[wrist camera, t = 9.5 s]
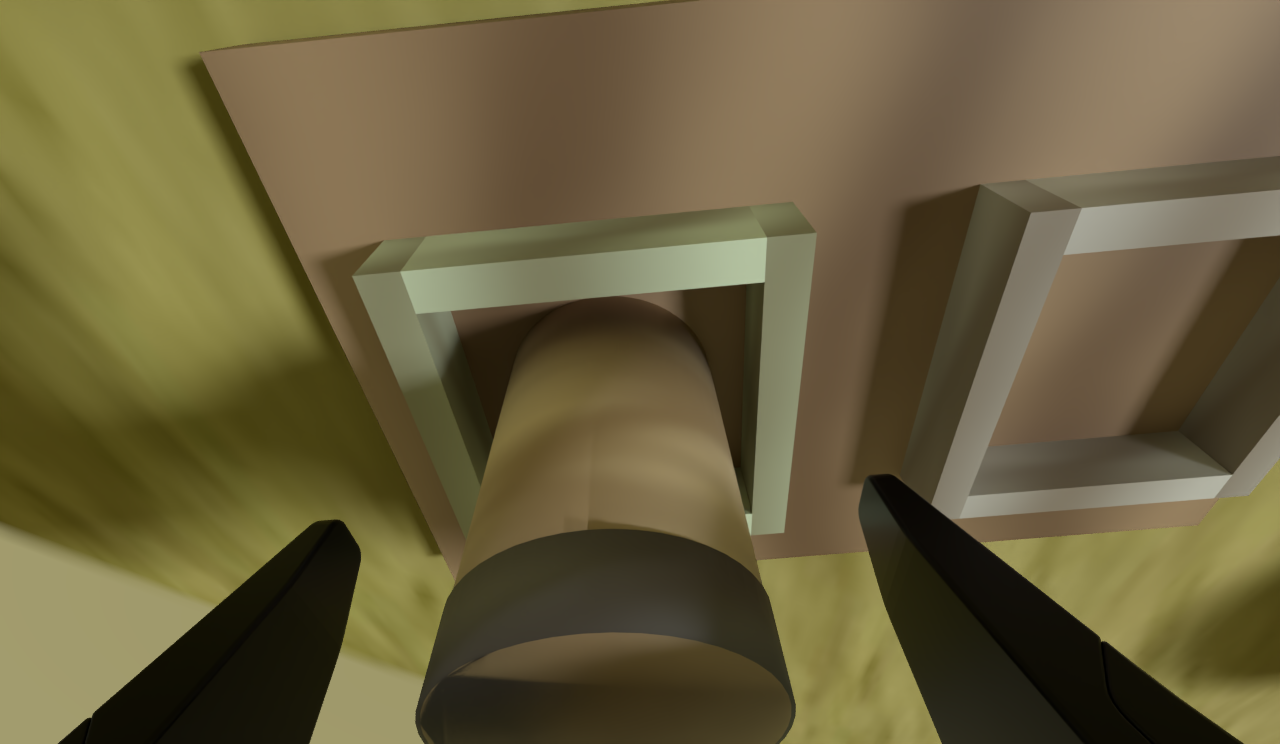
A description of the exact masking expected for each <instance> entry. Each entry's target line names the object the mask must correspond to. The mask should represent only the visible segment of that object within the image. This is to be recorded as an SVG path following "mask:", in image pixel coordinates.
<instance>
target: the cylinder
mask: <svg viewBox="0 0 1280 744" xmlns="http://www.w3.org/2000/svg"><path fill="white" fill-rule="evenodd" d="M795 712H796V704H795V700H794V696H793V692H792V688H791V684H790V680H789V676H788V672H787V668H786V664H785V660H784V656H783V652H782V648H781V644H780V639H779V635H778V631H777V627H776V623H775V619H774V615H773V611H772V607H771V604H770V600H769V597H768V595H767V593H766V591H765V589H764V587H763V585H762V582H761V578H760V573H759V569H758V565H757V561H756V557H755V553H754V549H753V544H752V540H751V536H750V532H749V528H748V524H747V520H746V515H745V511H744V507H743V503H742V499H741V495H740V491H739V486H738V482H737V478H736V474H735V470H734V466H733V462H732V457H731V453H730V449H729V445H728V441H727V437H726V433H725V428H724V424H723V420H722V416H721V412H720V408H719V404H718V400H717V395H716V391H715V387H714V383H713V379H712V375H711V371H710V366H709V362H708V359H707V355H706V352H705V350H704V348H703V345H702V343H701V342H700V340H699V339H698V337H697V336H696V334H695V333H694V332H693V331H692V330H691V328H690V327H689V326H688V325H687V324H686V323H685V322H683V321H682V320H681V319H680V318H679V317H677V316H676V315H674V314H673V313H671V312H670V311H668V310H666V309H664V308H662V307H660V306H658V305H656V304H653V303H650V302H647V301H644V300H640V299H635V298H630V297H622V296H608V297H597V298H586V299H582V300H578V301H575V302H572V303H569V304H567V305H564V306H562V307H560V308H558V309H556V310H554V311H553V312H551V313H549V314H548V315H546V316H545V317H544V318H543V319H541V320H540V321H539V322H538V323H537V324H536V325H535V326H534V327H533V328H532V329H531V330H530V331H529V332H528V334H527V335H526V336H525V338H524V339H523V341H522V343H521V345H520V347H519V349H518V351H517V354H516V357H515V361H514V364H513V368H512V372H511V376H510V379H509V383H508V387H507V391H506V394H505V398H504V402H503V405H502V409H501V413H500V417H499V420H498V424H497V428H496V432H495V435H494V439H493V443H492V446H491V450H490V454H489V458H488V461H487V465H486V469H485V473H484V476H483V480H482V484H481V487H480V491H479V495H478V499H477V502H476V506H475V510H474V514H473V517H472V521H471V525H470V529H469V532H468V536H467V540H466V543H465V547H464V551H463V555H462V558H461V562H460V566H459V570H458V573H457V577H456V581H455V584H454V588H453V590H452V592H451V594H450V595H449V597H448V599H447V601H446V604H445V607H444V611H443V614H442V618H441V621H440V625H439V629H438V632H437V636H436V639H435V643H434V647H433V650H432V654H431V658H430V661H429V665H428V669H427V672H426V676H425V680H424V683H423V687H422V690H421V694H420V698H419V701H418V705H417V709H416V721H415V722H416V727H417V730H418V733H419V735H420V737H421V739H422V740H423V742H424V744H779V743H780V742H781V741H782V740H783V739H784V738H785V737H786V735H787V734H788V732H789V730H790V729H791V727H792V725H793V722H794V719H795Z"/></svg>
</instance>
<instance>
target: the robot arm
mask: <svg viewBox="0 0 1280 744" xmlns="http://www.w3.org/2000/svg"><path fill="white" fill-rule="evenodd" d="M858 515H859V520H860V524H861V527H862V531H863V534H864V538H865V541H866V544H867V548H868V551H869V555H870V558H871V562H872V565H873V568H874V572H875V575H876V579H877V582H878V585H879V589H880V592H881V595H882V598H883V602H884V605H885V607H886V610H887V613H888V615H889V618H890V620H891V623H892V625H893V628H894V630H895V632H896V635H897V637H898V639H899V642H900V644H901V647H902V649H903V651H904V654H905V656H906V659H907V661H908V663H909V666H910V668H911V671H912V673H913V675H914V678H915V680H916V683H917V685H918V687H919V690H920V692H921V695H922V697H923V699H924V702H925V704H926V706H927V709H928V711H929V714H930V716H931V718H932V721H933V723H934V726H935V728H936V730H937V733H938V735H939V738H940V740H941V742H942V744H1244V743H1242V742H1241V741H1239V740H1238V739H1236V738H1235V737H1234V736H1232V735H1231V734H1229V733H1228V732H1226V731H1225V730H1224V729H1222V728H1221V727H1219V726H1218V725H1217V724H1215V723H1214V722H1212V721H1211V720H1210V719H1208V718H1207V717H1205V716H1204V715H1203V714H1201V713H1200V712H1198V711H1197V710H1196V709H1194V708H1193V707H1191V706H1190V705H1189V704H1187V703H1186V702H1184V701H1183V700H1182V699H1180V698H1179V697H1177V696H1176V695H1175V694H1173V693H1172V692H1171V691H1170V690H1168V689H1167V688H1166V687H1164V686H1163V685H1162V684H1160V683H1159V682H1158V681H1156V680H1155V679H1154V678H1152V677H1151V676H1150V675H1148V674H1147V673H1146V672H1144V671H1143V670H1142V669H1141V668H1139V667H1138V666H1137V665H1135V664H1134V663H1133V662H1131V661H1130V660H1129V659H1128V658H1126V657H1125V656H1124V655H1123V654H1121V653H1120V652H1119V651H1117V650H1116V649H1115V648H1114V647H1112V646H1111V645H1110V644H1109V643H1107V642H1105V641H1102V642H1101V639H1100V637H1099V636H1098V635H1097V634H1095V633H1094V632H1093V631H1092V630H1090V629H1089V628H1088V627H1087V626H1085V625H1084V624H1083V623H1081V622H1080V621H1079V620H1078V619H1076V618H1075V617H1074V616H1073V615H1071V614H1070V613H1069V612H1068V611H1066V610H1065V609H1064V608H1062V607H1061V606H1060V605H1059V604H1057V603H1056V602H1055V601H1054V600H1052V599H1051V598H1050V597H1048V596H1047V595H1046V594H1045V593H1043V592H1042V591H1041V590H1040V589H1038V588H1037V587H1036V586H1034V585H1033V584H1032V583H1031V582H1029V581H1028V580H1027V579H1026V578H1024V577H1023V576H1022V575H1020V574H1019V573H1018V572H1017V571H1015V570H1014V569H1013V568H1012V567H1010V566H1009V565H1008V564H1006V563H1005V562H1004V561H1003V560H1001V559H1000V558H999V557H998V556H996V555H995V554H994V553H992V552H991V551H990V550H989V549H987V548H986V547H985V546H984V545H982V544H981V543H980V542H978V541H977V540H976V539H975V538H973V537H972V536H971V535H970V534H968V533H967V532H966V531H964V530H963V529H962V528H961V527H959V526H958V525H957V524H956V523H954V522H953V521H952V520H950V519H949V518H948V517H947V516H945V515H944V514H943V513H942V512H940V511H939V510H938V509H936V508H935V507H934V506H933V505H931V504H930V503H929V502H928V501H926V500H925V499H924V498H923V497H921V496H920V495H919V494H917V493H916V492H915V491H914V490H912V489H911V488H910V487H909V486H907V485H906V484H905V483H903V482H902V481H901V480H900V479H898V478H897V477H896V476H894V475H892V474H876V475H869V476H867V477H866V478H865V480H864V484H863V488H862V493H861V497H860V502H859V507H858ZM360 562H361V552H360V548H359V546H358V544H357V543H356V541H355V539H354V538H353V536H352V535H351V533H350V531H349V530H348V528H347V527H346V525H345V524H344V522H342V521H341V520H337V519H336V520H324V521H317V522H315V523H313V524H311V525H310V526H309V527H308V528H307V529H305V530H304V531H303V532H302V533H301V534H300V535H298V536H297V537H296V538H295V539H294V540H293V541H292V542H290V543H289V544H288V545H287V546H286V547H285V548H283V549H282V550H281V551H280V552H279V553H278V554H277V555H275V556H274V557H273V558H272V559H271V560H270V561H268V562H267V563H266V564H265V565H264V566H263V567H262V568H260V569H259V570H258V571H257V572H256V573H255V574H253V575H252V576H251V577H250V578H249V579H248V580H246V581H245V582H244V583H243V584H242V585H241V586H240V587H238V588H237V589H236V590H235V591H234V592H233V593H231V594H230V595H229V596H228V597H227V598H226V599H225V600H223V601H222V602H221V603H220V604H219V605H218V606H216V607H215V608H214V609H213V610H212V611H211V612H210V613H208V614H207V615H206V616H205V617H204V618H203V619H201V620H200V621H199V622H198V623H197V624H196V625H194V626H193V627H192V628H191V629H190V630H189V631H188V632H186V633H185V634H184V635H183V636H182V637H181V638H179V639H178V640H177V641H176V642H175V643H174V644H173V645H171V646H170V647H169V648H168V649H167V650H166V651H164V652H163V653H162V654H161V655H160V656H159V657H158V658H156V659H155V660H154V661H153V662H152V663H151V664H149V665H148V666H147V667H146V668H145V669H144V670H142V671H141V672H140V673H139V674H138V675H137V676H136V677H134V678H133V679H132V680H131V681H130V682H129V683H127V684H126V685H125V686H124V687H123V688H122V689H121V690H119V691H118V692H117V693H116V694H115V695H114V696H112V697H111V698H110V699H109V700H108V701H107V702H106V703H104V704H103V705H102V706H101V707H100V708H99V709H97V710H96V711H95V712H94V713H93V715H92V718H87V719H86V720H85V721H83V722H82V723H81V724H80V725H79V726H78V727H76V728H75V729H74V730H73V731H72V732H71V733H70V734H68V735H67V736H66V737H65V738H64V739H63V740H61V741H60V742H59V743H58V744H309V743H310V740H311V737H312V734H313V731H314V728H315V725H316V722H317V719H318V716H319V713H320V710H321V707H322V704H323V701H324V698H325V695H326V692H327V689H328V686H329V683H330V680H331V677H332V674H333V671H334V668H335V665H336V662H337V659H338V656H339V652H340V649H341V645H342V642H343V638H344V634H345V629H346V625H347V620H348V616H349V611H350V607H351V603H352V598H353V594H354V589H355V585H356V580H357V576H358V571H359V567H360Z"/></svg>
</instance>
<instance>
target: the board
mask: <svg viewBox="0 0 1280 744" xmlns="http://www.w3.org/2000/svg"><path fill="white" fill-rule="evenodd" d="M199 53H200V55H201V57H202V59H203V61H204V63H205V65H206V68H207V70H208V72H209V74H210V76H211V78H212V80H213V82H214V84H215V86H216V88H217V90H218V92H219V94H220V96H221V99H222V101H223V103H224V105H225V107H226V109H227V111H228V113H229V115H230V117H231V119H232V121H233V123H234V125H235V127H236V129H237V132H238V134H239V136H240V138H241V140H242V142H243V144H244V146H245V148H246V150H247V152H248V154H249V156H250V158H251V160H252V163H253V165H254V167H255V169H256V171H257V173H258V175H259V177H260V179H261V181H262V183H263V185H264V187H265V189H266V191H267V193H268V196H269V198H270V200H271V202H272V204H273V206H274V208H275V210H276V212H277V214H278V216H279V218H280V220H281V222H282V224H283V227H284V229H285V231H286V233H287V235H288V237H289V239H290V241H291V243H292V245H293V247H294V249H295V251H296V253H297V255H298V257H299V260H300V262H301V264H302V266H303V268H304V270H305V272H306V274H307V276H308V278H309V280H310V282H311V284H312V286H313V288H314V291H315V293H316V295H317V297H318V299H319V301H320V303H321V305H322V307H323V309H324V311H325V313H326V315H327V317H328V319H329V321H330V324H331V326H332V328H333V330H334V332H335V334H336V336H337V338H338V340H339V342H340V344H341V346H342V348H343V350H344V352H345V355H346V357H347V359H348V361H349V363H350V365H351V367H352V369H353V371H354V373H355V375H356V377H357V379H358V381H359V383H360V386H361V388H362V390H363V392H364V394H365V396H366V398H367V400H368V402H369V404H370V406H371V408H372V410H373V412H374V414H375V416H376V419H377V421H378V423H379V425H380V427H381V429H382V431H383V433H384V435H385V437H386V439H387V441H388V443H389V445H390V447H391V450H392V452H393V454H394V456H395V458H396V460H397V462H398V464H399V466H400V468H401V470H402V472H403V474H404V476H405V478H406V480H407V483H408V485H409V487H410V489H411V491H412V493H413V495H414V497H415V499H416V501H417V503H418V505H419V507H420V509H421V511H422V514H423V516H424V518H425V520H426V522H427V524H428V526H429V528H430V530H431V532H432V534H433V536H434V538H435V540H436V542H437V544H438V547H439V549H440V551H441V553H442V555H443V557H444V559H445V561H446V563H447V565H448V567H449V569H450V571H451V573H452V575H453V578H454V580H455V581H456V577H457V573H458V570H459V566H460V562H461V558H462V555H463V551H464V547H465V543H466V540H467V536H468V532H469V529H470V525H471V521H472V517H473V514H474V510H475V506H476V502H477V499H478V495H479V491H480V487H481V484H482V480H483V476H484V473H485V469H486V465H487V461H488V458H489V454H490V450H491V446H492V443H493V439H494V435H495V432H496V428H497V424H498V420H499V417H500V413H501V409H502V405H503V402H504V398H505V394H506V391H507V387H508V383H509V379H510V376H511V372H512V368H513V364H514V361H515V357H516V354H517V351H518V349H519V347H520V345H521V343H522V341H523V339H524V338H525V336H526V335H527V334H528V332H529V331H530V330H531V329H532V328H533V327H534V326H535V325H536V324H537V323H538V322H539V321H540V320H541V319H543V318H544V317H545V316H546V315H548V314H549V313H551V312H553V311H554V310H556V309H558V308H560V307H562V306H564V305H567V304H569V303H572V302H575V301H578V300H582V299H586V298H597V297H608V296H622V297H630V298H635V299H640V300H644V301H647V302H650V303H653V304H656V305H658V306H660V307H662V308H664V309H666V310H668V311H670V312H671V313H673V314H674V315H676V316H677V317H679V318H680V319H681V320H682V321H683V322H685V323H686V324H687V325H688V326H689V327H690V328H691V330H692V331H693V332H694V333H695V334H696V336H697V337H698V339H699V340H700V342H701V343H702V345H703V348H704V350H705V352H706V355H707V359H708V362H709V366H710V371H711V375H712V379H713V383H714V387H715V391H716V395H717V400H718V404H719V408H720V412H721V416H722V420H723V424H724V428H725V433H726V437H727V441H728V445H729V449H730V453H731V457H732V462H733V466H734V470H735V474H736V478H737V482H738V486H739V491H740V495H741V499H742V503H743V507H744V511H745V515H746V520H747V524H748V528H749V532H750V536H751V540H752V544H753V549H754V553H755V557H756V560H763V559H776V558H789V557H801V556H814V555H827V554H839V553H852V552H864V551H868V548H867V544H866V541H865V538H864V534H863V531H862V527H861V524H860V520H859V515H858V507H859V502H860V497H861V493H862V488H863V484H864V480H865V478H866V477H867V476H869V475H876V474H892V475H894V476H896V477H897V478H898V479H900V480H901V481H902V482H903V483H905V484H906V485H907V486H909V487H910V488H911V489H912V490H914V491H915V492H916V493H917V494H919V495H920V496H921V497H923V498H924V499H925V500H926V501H928V502H929V503H930V504H931V505H933V506H934V507H935V508H936V509H938V510H939V511H940V512H942V513H943V514H944V515H945V516H947V517H948V518H949V519H950V520H952V521H953V522H954V523H956V524H957V525H958V526H959V527H961V528H962V529H963V530H964V531H966V532H967V533H968V534H970V535H971V536H972V537H973V538H975V539H976V540H977V541H978V542H991V541H1003V540H1016V539H1028V538H1041V537H1054V536H1066V535H1079V534H1092V533H1104V532H1117V531H1129V530H1142V529H1155V528H1167V527H1180V526H1193V525H1198V524H1199V523H1200V522H1201V521H1202V519H1203V518H1204V517H1205V516H1206V514H1207V513H1208V512H1209V511H1210V509H1211V508H1212V507H1213V506H1214V504H1215V503H1216V502H1217V501H1218V499H1219V498H1223V497H1236V496H1248V495H1249V494H1250V493H1251V492H1252V491H1253V489H1254V488H1255V487H1256V486H1257V485H1258V483H1259V482H1260V481H1261V480H1262V479H1263V477H1264V476H1265V475H1266V474H1267V473H1268V472H1269V470H1270V469H1271V468H1272V467H1273V466H1274V464H1275V463H1276V462H1277V461H1278V460H1279V458H1280V0H669V1H659V2H649V3H640V4H630V5H620V6H611V7H601V8H591V9H582V10H572V11H562V12H553V13H543V14H534V15H524V16H514V17H505V18H495V19H485V20H476V21H466V22H456V23H447V24H437V25H427V26H418V27H408V28H398V29H389V30H379V31H370V32H360V33H350V34H341V35H331V36H321V37H312V38H302V39H292V40H283V41H273V42H263V43H254V44H244V45H238V46H232V47H227V48H221V49H215V50H210V51H204V52H199Z"/></svg>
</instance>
